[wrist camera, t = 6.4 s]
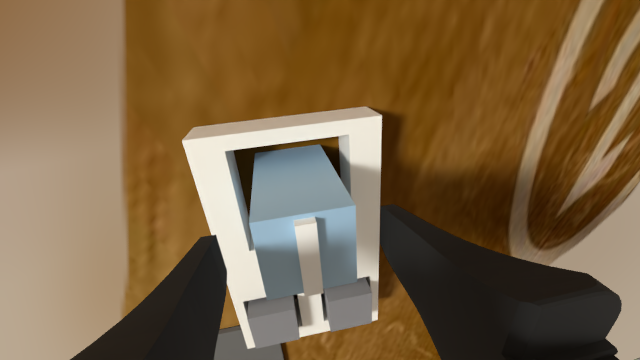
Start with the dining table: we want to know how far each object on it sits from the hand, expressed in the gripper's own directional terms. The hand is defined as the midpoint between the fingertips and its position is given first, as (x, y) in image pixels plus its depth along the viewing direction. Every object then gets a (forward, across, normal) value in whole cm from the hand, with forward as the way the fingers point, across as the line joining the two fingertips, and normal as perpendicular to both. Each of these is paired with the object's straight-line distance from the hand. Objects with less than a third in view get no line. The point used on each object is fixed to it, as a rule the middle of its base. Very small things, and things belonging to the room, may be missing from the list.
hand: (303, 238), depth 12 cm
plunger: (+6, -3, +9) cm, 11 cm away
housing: (+6, 0, +4) cm, 8 cm away
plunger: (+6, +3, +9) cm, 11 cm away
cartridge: (+6, 0, 0) cm, 6 cm away
